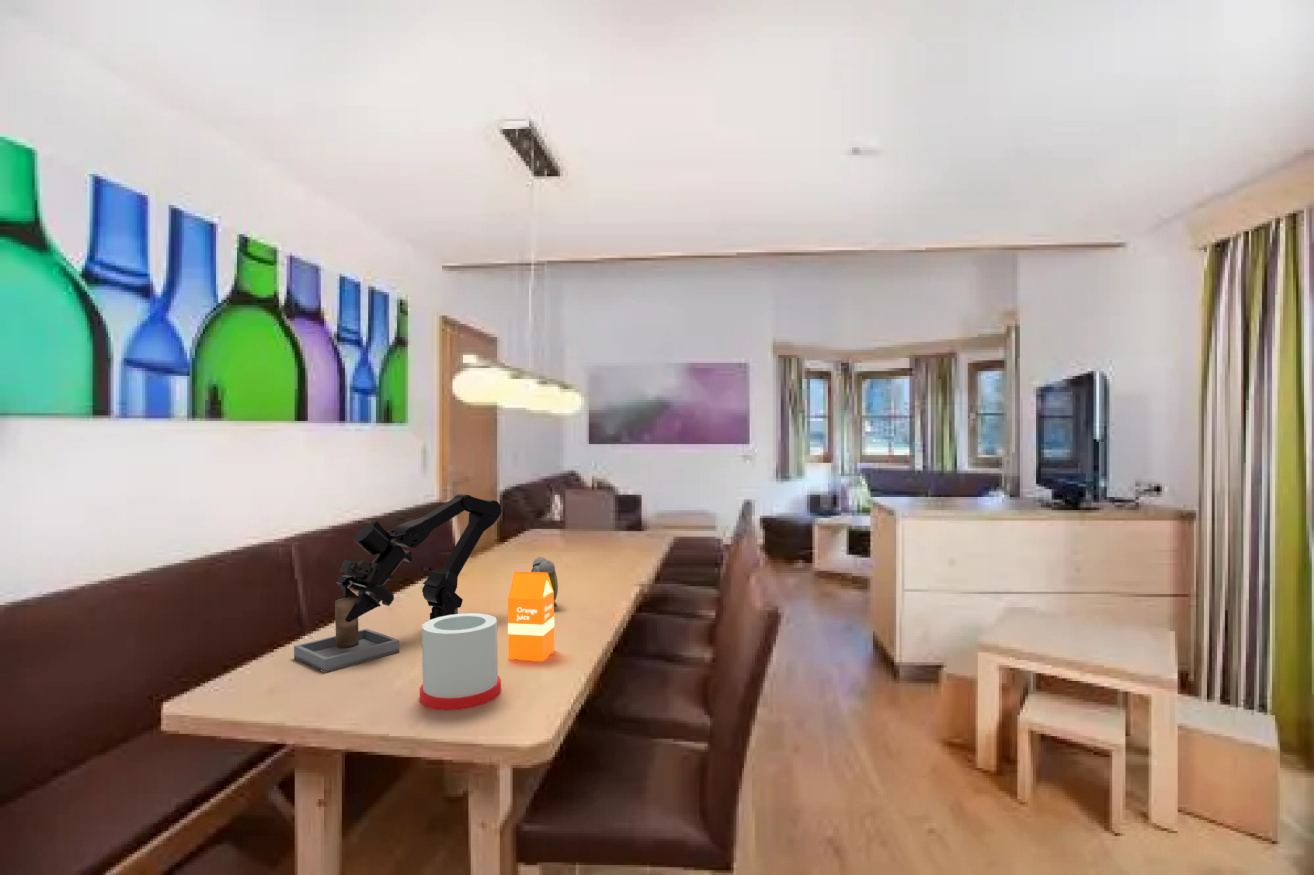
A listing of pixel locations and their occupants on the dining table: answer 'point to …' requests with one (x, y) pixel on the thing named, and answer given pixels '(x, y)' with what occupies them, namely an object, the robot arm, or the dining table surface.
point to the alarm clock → (547, 567)
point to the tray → (345, 651)
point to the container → (459, 661)
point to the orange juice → (530, 616)
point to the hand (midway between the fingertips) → (341, 619)
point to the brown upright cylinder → (345, 624)
